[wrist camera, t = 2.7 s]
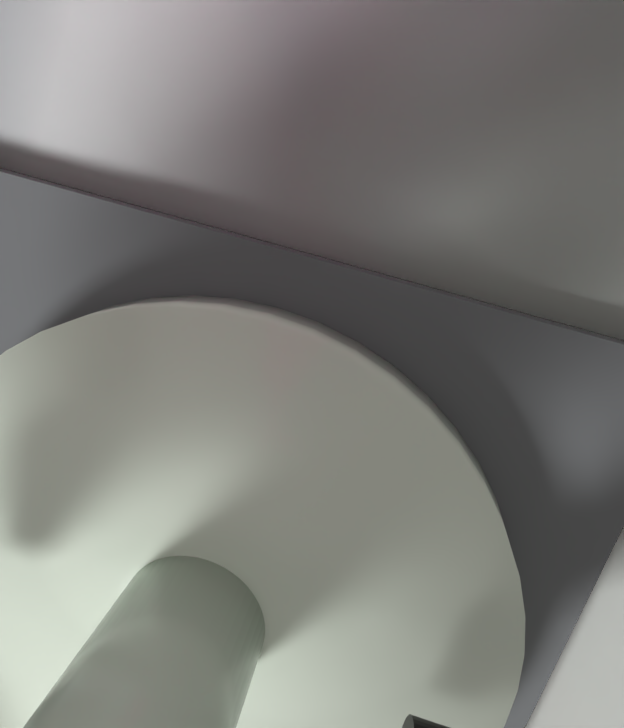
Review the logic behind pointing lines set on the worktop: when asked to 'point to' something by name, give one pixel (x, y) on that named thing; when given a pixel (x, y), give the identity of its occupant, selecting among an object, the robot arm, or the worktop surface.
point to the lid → (242, 532)
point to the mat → (392, 343)
